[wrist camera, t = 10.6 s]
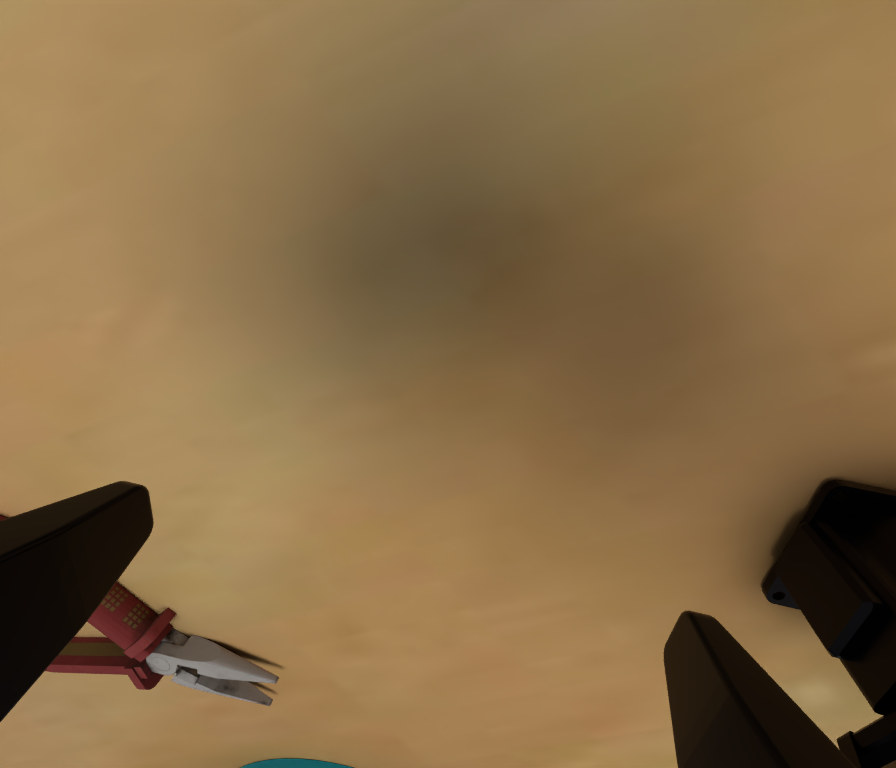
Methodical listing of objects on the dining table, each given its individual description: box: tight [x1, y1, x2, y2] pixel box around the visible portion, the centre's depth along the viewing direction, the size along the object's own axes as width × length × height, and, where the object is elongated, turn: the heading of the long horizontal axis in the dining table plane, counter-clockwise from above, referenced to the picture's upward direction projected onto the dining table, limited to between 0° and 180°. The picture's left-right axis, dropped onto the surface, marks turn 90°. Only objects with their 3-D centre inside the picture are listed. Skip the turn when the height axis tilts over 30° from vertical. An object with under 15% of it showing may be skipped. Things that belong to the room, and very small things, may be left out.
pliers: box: [0, 515, 279, 706], centre depth 29 cm, size 12×20×3 cm, turn 72°
